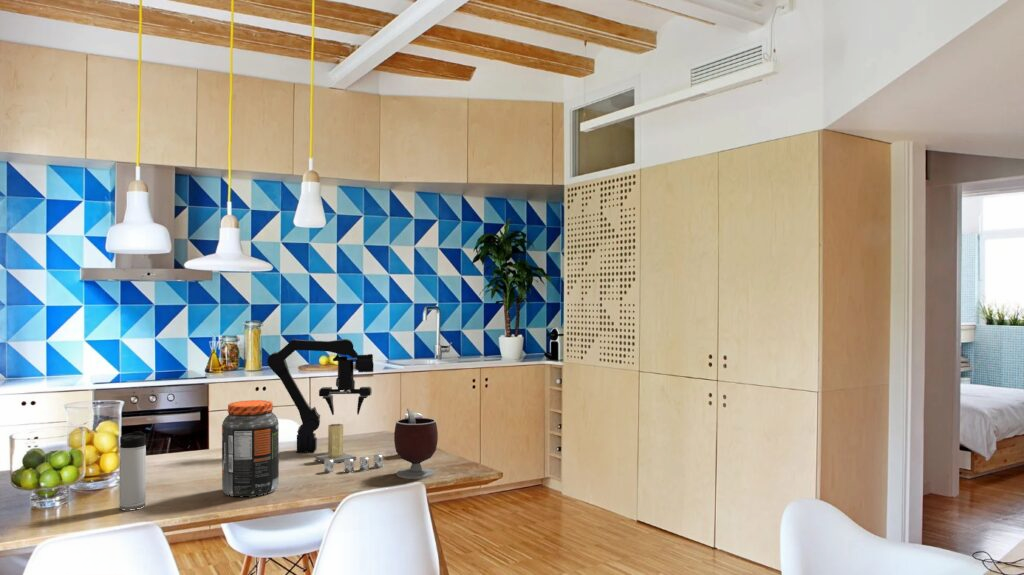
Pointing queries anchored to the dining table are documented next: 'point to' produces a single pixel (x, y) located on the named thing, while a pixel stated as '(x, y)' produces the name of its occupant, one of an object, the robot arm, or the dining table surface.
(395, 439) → the mate gourd
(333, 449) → the tan faceted block
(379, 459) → the cylinder
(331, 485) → the dining table surface
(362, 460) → the cylinder
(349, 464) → the cylinder
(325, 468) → the cylinder
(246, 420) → the supplement tub
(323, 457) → the coaster
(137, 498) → the travel mug
